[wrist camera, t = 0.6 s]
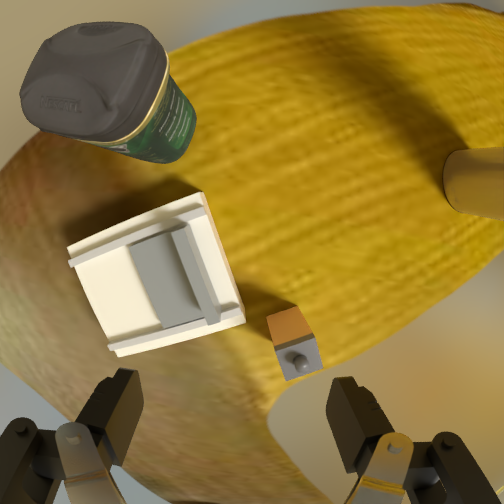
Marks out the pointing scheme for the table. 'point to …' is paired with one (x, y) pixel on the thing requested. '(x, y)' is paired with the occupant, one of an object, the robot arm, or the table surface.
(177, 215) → the socket
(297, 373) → the plug
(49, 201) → the table surface
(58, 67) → the coffee jar
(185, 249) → the shutter
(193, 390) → the table surface
